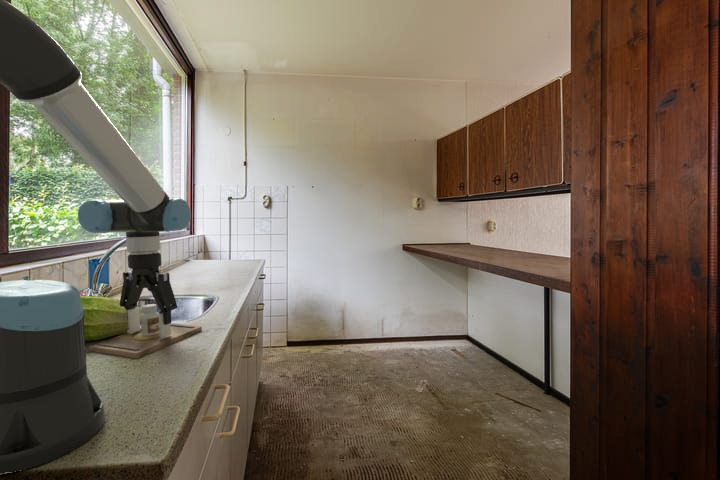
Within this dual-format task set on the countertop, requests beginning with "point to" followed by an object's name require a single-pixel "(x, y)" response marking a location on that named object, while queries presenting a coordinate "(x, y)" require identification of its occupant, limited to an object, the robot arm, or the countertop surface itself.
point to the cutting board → (143, 342)
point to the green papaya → (104, 317)
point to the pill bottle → (149, 320)
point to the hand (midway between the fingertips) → (149, 334)
